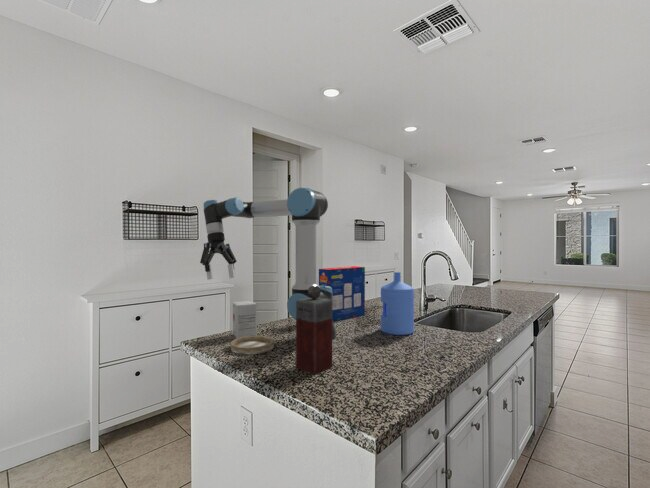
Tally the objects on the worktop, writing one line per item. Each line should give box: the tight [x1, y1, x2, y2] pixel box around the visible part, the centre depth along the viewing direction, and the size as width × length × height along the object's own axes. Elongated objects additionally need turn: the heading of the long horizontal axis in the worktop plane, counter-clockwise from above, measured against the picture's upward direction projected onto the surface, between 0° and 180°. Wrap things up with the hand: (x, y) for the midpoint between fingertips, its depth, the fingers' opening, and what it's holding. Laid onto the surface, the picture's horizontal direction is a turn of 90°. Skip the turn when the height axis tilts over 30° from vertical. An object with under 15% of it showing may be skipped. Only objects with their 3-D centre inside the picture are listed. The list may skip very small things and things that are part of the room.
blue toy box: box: [318, 265, 366, 323], centre depth 194 cm, size 28×8×28 cm, turn 131°
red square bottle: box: [295, 285, 333, 375], centre depth 119 cm, size 9×11×28 cm
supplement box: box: [232, 300, 258, 339], centre depth 158 cm, size 9×9×15 cm
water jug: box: [380, 271, 415, 336], centre depth 166 cm, size 16×16×28 cm
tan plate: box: [229, 335, 275, 355], centre depth 141 cm, size 17×17×2 cm
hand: (221, 278), depth 159 cm, fingers open, 13 cm apart
